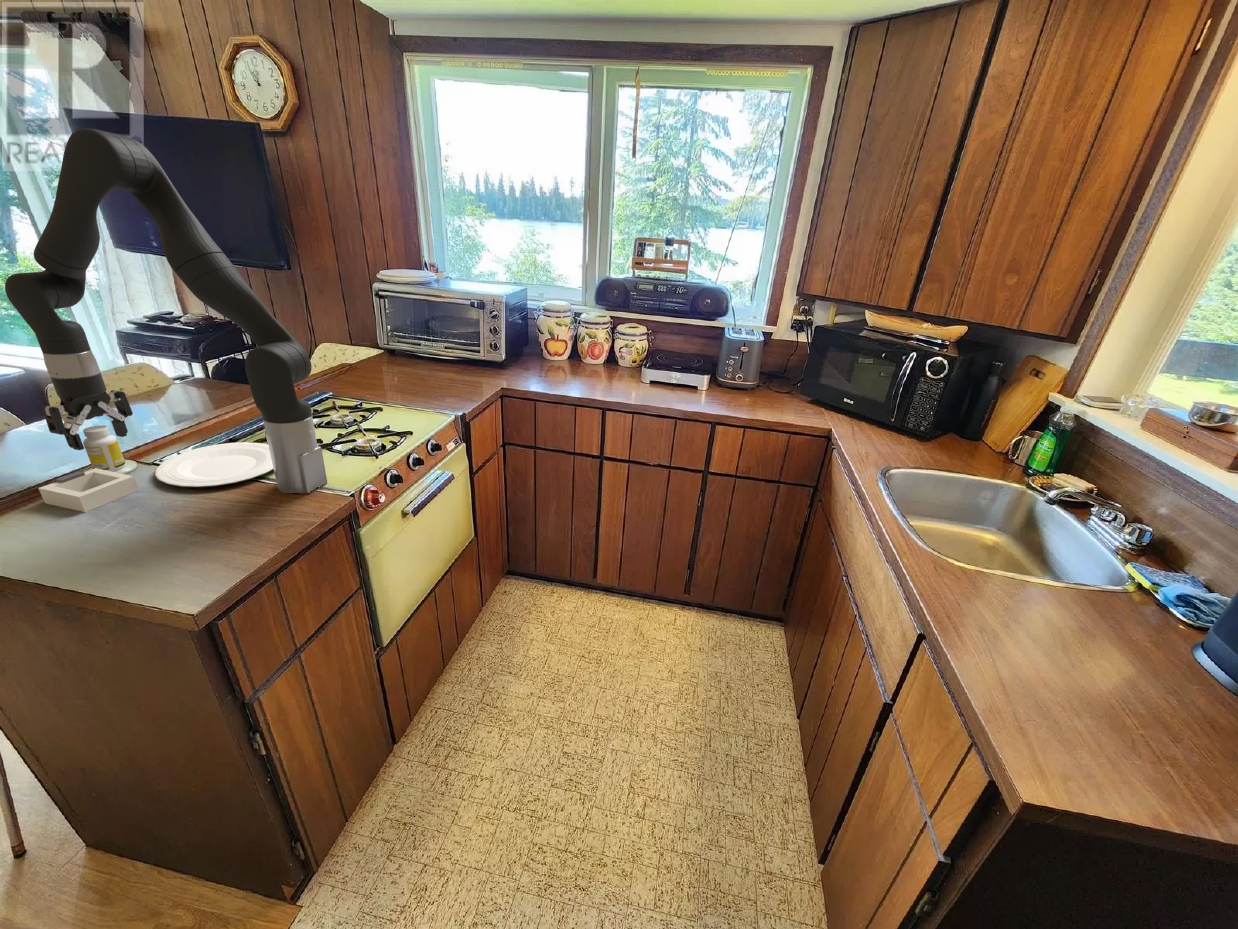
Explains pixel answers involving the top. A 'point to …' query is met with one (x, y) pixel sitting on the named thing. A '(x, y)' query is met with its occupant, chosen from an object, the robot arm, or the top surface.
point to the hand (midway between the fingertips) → (101, 442)
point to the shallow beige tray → (88, 489)
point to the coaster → (127, 469)
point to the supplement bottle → (103, 449)
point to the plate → (216, 465)
